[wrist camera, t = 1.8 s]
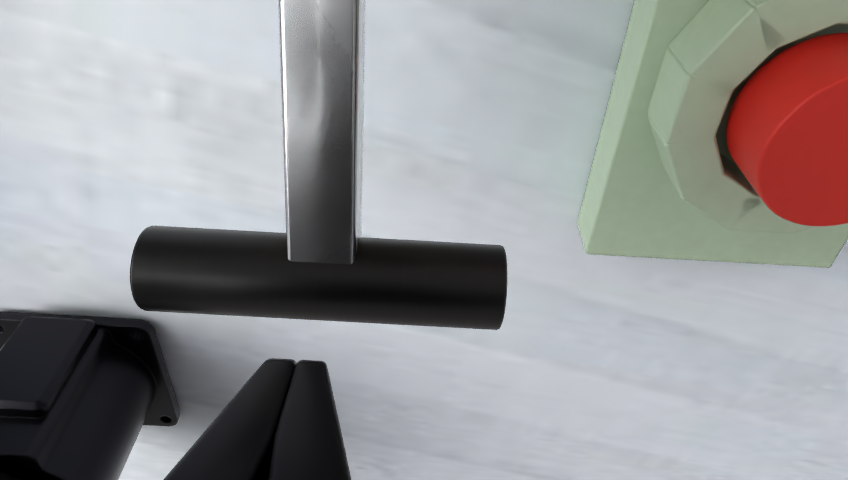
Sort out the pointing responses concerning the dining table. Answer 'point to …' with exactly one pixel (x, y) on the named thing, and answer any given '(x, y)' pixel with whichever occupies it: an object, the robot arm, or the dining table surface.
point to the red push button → (797, 131)
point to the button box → (696, 136)
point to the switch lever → (320, 216)
